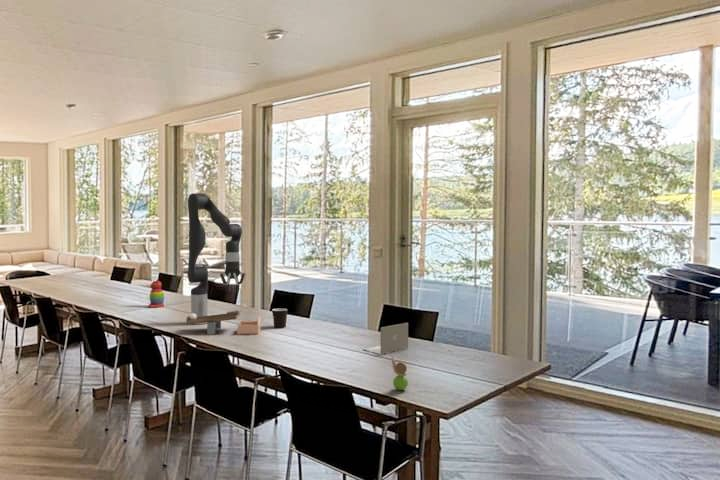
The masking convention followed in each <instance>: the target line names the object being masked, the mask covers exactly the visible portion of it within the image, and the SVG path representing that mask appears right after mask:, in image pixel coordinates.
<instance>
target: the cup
mask: <svg viewBox="0 0 720 480" xmlns="http://www.w3.org/2000/svg"><path fill="white" fill-rule="evenodd" d="M261 323H262V322H261V315H258V317H257V318H256V321H255V320H254V321H253V320H252V321H251V320H250V321H249V320H247V321H244V320H243V321H242V320H241V321H240V324H238V325H237V328H236V335H240V334H251V335H260V332H261V327H262V326H261Z"/></svg>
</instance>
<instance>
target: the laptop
mask: <svg viewBox="0 0 720 480" xmlns="http://www.w3.org/2000/svg"><path fill="white" fill-rule="evenodd" d="M366 349H369V351H371V352H372V350H373V352H374V353H373V354H375V353H376V352H377V353H378V354H377V355H379V354H383V355H385V354H384V353H387V354H389V353H388V352H392V353H394V352H393V351H396V352H399V351H398V350H401V351H404V350H403V349H405V350H408V349H409V322H403V323H398V324H392V325H387V326H382V327H380V345H377V346H372V347H367V348H366ZM371 352H370V353H371Z"/></svg>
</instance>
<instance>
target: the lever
mask: <svg viewBox="0 0 720 480" xmlns="http://www.w3.org/2000/svg"><path fill="white" fill-rule="evenodd" d="M240 315H241V313H240V311H239V310H235V311H234V310H233V311H228V312H226V313H221V314H212V315H210V314H209V315H208V316H201V317H197V318H196V319H191V320H190V319H189V315H188V316H187V317H186V318H185V319H186V325H189V326H190V325H196V324H198V323H206V324H207V322H216V321H221V322H222V321H223V322H224V321H232V320H237V319H238V318H239V316H240Z"/></svg>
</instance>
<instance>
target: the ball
mask: <svg viewBox="0 0 720 480" xmlns="http://www.w3.org/2000/svg"><path fill="white" fill-rule="evenodd" d="M188 316H189V319H190V320H191V319H196V318H197V315H196V314H195V313H192V314H191V313H190V314H189V315H188Z"/></svg>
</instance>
